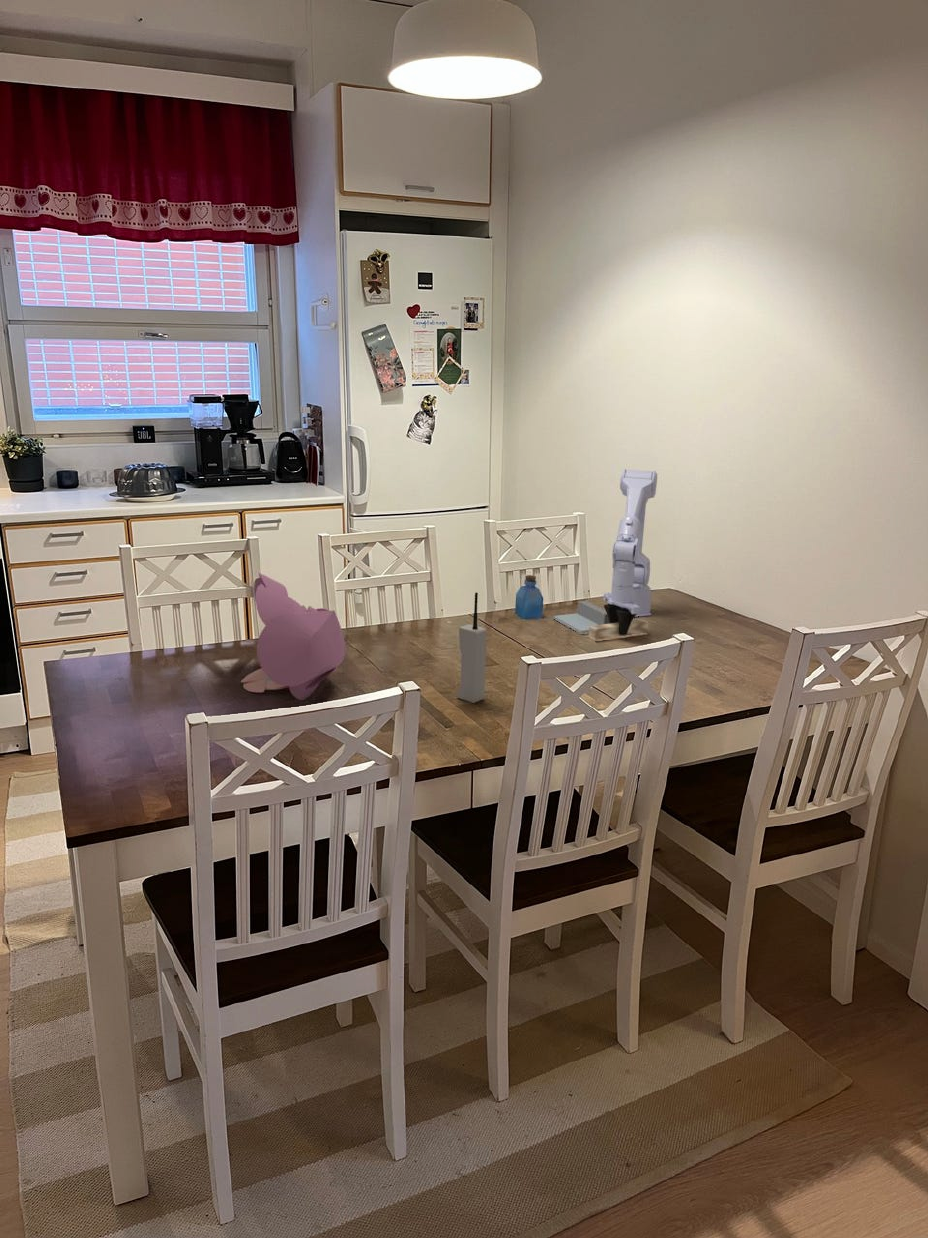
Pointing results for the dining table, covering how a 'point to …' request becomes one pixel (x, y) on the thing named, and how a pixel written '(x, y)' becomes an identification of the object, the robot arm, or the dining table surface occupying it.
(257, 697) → the dining table surface
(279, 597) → the purple toy bird
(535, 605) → the perfume bottle
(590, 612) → the stand
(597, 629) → the ash batten
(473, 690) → the vintage mobile phone
